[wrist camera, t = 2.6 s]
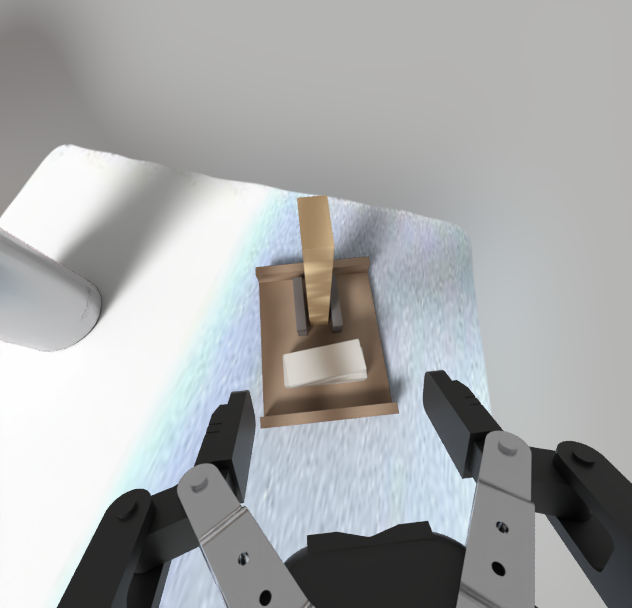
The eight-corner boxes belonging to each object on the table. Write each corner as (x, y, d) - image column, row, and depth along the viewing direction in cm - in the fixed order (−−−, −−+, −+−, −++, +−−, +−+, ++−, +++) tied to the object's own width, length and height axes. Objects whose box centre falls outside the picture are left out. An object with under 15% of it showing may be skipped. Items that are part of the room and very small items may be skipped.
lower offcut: (287, 389, 31) (284, 386, 28) (285, 360, 32) (282, 355, 30) (363, 380, 31) (367, 377, 29) (359, 352, 32) (362, 347, 30)
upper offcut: (291, 388, 28) (289, 385, 26) (286, 359, 29) (283, 354, 27) (362, 372, 29) (366, 368, 27) (355, 345, 30) (358, 338, 28)
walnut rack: (266, 427, 30) (259, 428, 27) (260, 279, 37) (254, 265, 33) (391, 413, 31) (400, 413, 28) (365, 268, 37) (369, 254, 34)
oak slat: (310, 326, 33) (302, 249, 18) (306, 293, 35) (297, 197, 20) (327, 324, 33) (334, 246, 18) (323, 291, 35) (326, 195, 20)
